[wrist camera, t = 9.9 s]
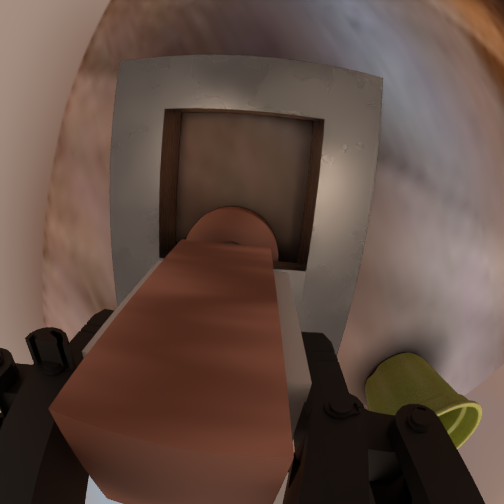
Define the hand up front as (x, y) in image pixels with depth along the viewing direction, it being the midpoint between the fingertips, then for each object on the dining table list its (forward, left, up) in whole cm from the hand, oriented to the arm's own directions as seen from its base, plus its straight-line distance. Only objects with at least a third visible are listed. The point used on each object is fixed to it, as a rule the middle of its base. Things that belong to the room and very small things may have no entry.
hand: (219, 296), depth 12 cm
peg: (0, 0, -6) cm, 6 cm away
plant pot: (-15, +11, -7) cm, 20 cm away
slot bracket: (0, +1, -7) cm, 7 cm away
